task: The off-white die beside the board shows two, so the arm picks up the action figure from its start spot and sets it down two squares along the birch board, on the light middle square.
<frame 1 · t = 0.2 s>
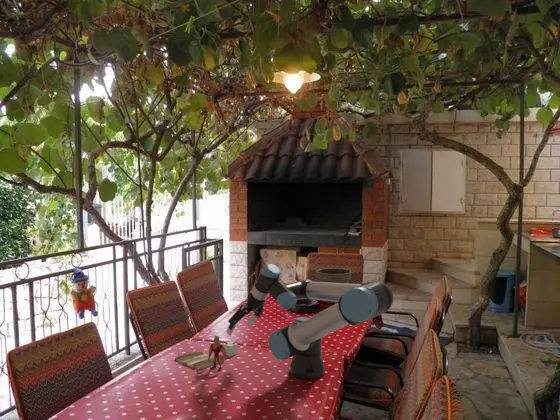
hand: (239, 328, 201), 16 cm above the table, tool tilted 35°, fingers open, 13 cm apart
plant pot: (333, 301, 317), on the table
board: (198, 361, 203), on the table
action figure: (216, 369, 194), on the table
die: (230, 354, 212), on the table
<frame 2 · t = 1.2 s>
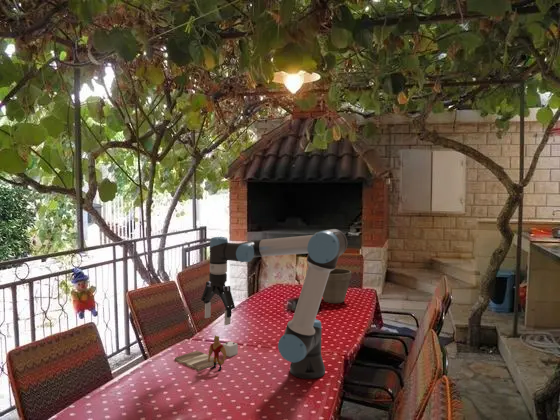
hand: (217, 321, 194), 21 cm above the table, tool pointing down, fingers open, 13 cm apart
nothing on the table moved.
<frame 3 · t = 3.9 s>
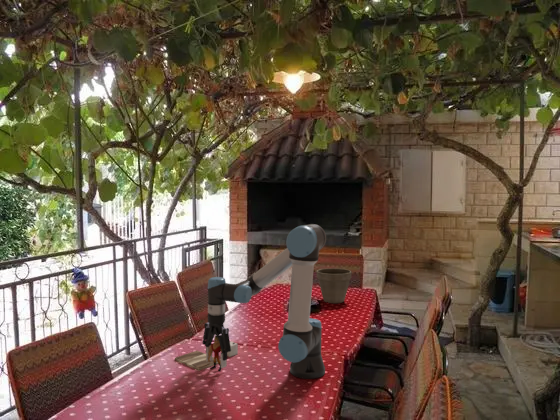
hand: (216, 363, 194), 2 cm above the table, tool pointing down, fingers closed on action figure, 9 cm apart
action figure: (216, 369, 194), on the table, touching gripper
everything else where it was.
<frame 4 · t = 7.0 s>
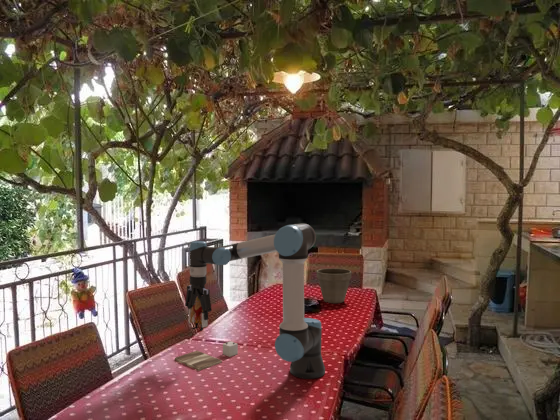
hand: (198, 324, 202), 17 cm above the table, tool pointing down, fingers closed on action figure, 9 cm apart
action figure: (198, 329, 202), point 15 cm above the table, touching gripper
everything else where it was.
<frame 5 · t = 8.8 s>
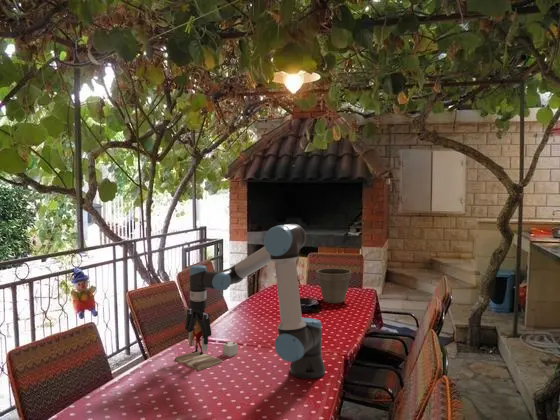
hand: (197, 348, 203), 6 cm above the table, tool pointing down, fingers closed on action figure, 9 cm apart
action figure: (198, 353, 203), point 4 cm above the table, touching gripper
everything else where it was.
when the fingers open (4 cm above the table, at t = 10.1 s): action figure drops 1 cm, resting on board.
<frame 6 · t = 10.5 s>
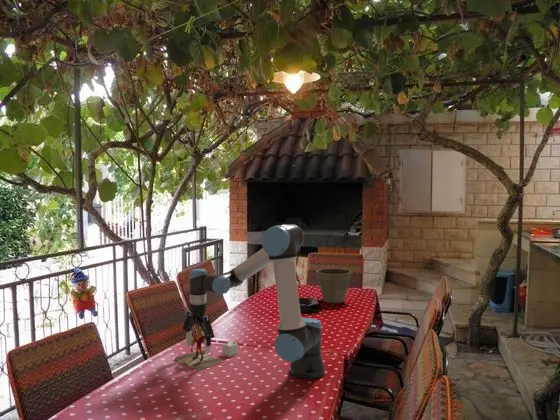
hand: (198, 349, 203), 6 cm above the table, tool pointing down, fingers open, 13 cm apart
action figure: (198, 359, 203), point 1 cm above the table, touching board
everything else where it was.
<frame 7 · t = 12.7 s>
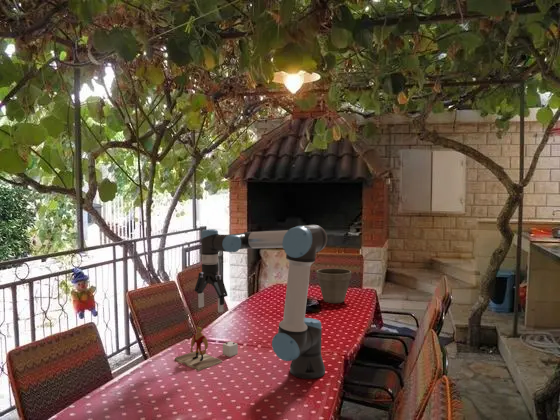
hand: (210, 309, 203), 24 cm above the table, tool pointing down, fingers open, 13 cm apart
nothing on the table moved.
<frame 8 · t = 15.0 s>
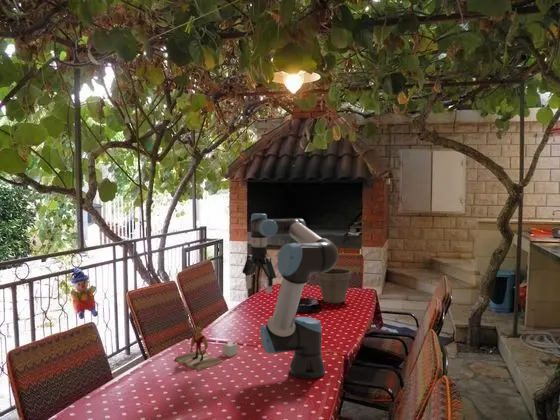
hand: (258, 290, 211), 31 cm above the table, tool pointing down, fingers open, 13 cm apart
nothing on the table moved.
at the end: action figure 0.1 cm off-centre on the board, point 0.8 cm above the board's base; action figure tilted 0°; the gripper is holding nothing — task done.
